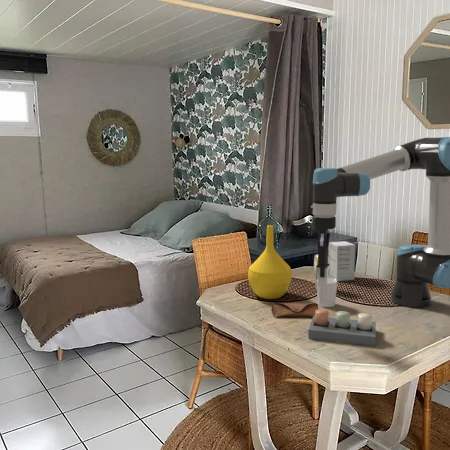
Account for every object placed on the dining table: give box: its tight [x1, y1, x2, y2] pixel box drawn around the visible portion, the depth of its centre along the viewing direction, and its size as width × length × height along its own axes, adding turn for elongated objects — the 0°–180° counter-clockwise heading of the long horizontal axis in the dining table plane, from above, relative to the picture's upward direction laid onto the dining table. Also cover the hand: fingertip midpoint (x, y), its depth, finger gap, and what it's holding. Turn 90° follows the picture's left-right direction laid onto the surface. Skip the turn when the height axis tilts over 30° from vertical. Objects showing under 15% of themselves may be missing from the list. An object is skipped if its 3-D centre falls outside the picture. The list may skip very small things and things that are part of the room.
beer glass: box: [313, 253, 330, 291], centre depth 204 cm, size 7×7×15 cm
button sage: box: [335, 310, 351, 327], centre depth 156 cm, size 4×4×4 cm
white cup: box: [316, 277, 338, 308], centre depth 184 cm, size 8×8×10 cm
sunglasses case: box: [271, 302, 319, 319], centre depth 175 cm, size 18×7×7 cm, turn 89°
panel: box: [307, 316, 377, 347], centre depth 156 cm, size 21×13×3 cm, turn 72°
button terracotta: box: [315, 308, 329, 325], centre depth 158 cm, size 4×4×4 cm
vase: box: [247, 224, 293, 300], centre depth 194 cm, size 18×18×30 cm
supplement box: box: [328, 240, 356, 282], centre depth 219 cm, size 10×9×17 cm
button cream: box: [357, 312, 373, 330], centre depth 153 cm, size 4×4×4 cm
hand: (322, 285), depth 156 cm, fingers closed
